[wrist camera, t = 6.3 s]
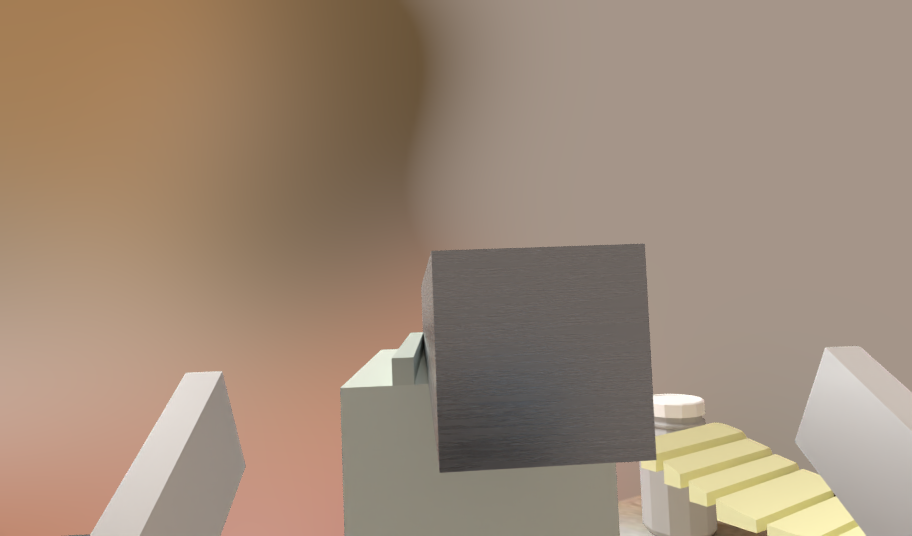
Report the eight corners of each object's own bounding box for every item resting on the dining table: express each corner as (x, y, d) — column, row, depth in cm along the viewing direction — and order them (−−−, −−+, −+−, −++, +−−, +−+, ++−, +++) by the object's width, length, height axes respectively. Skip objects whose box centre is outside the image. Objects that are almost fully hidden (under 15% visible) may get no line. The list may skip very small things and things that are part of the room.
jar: (652, 546, 77) (645, 406, 78) (634, 518, 86) (628, 393, 87) (730, 545, 76) (721, 403, 77) (703, 517, 86) (696, 391, 87)
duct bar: (657, 459, 11) (644, 243, 11) (439, 472, 11) (431, 251, 11) (481, 342, 41) (479, 284, 41) (423, 344, 41) (421, 286, 41)
